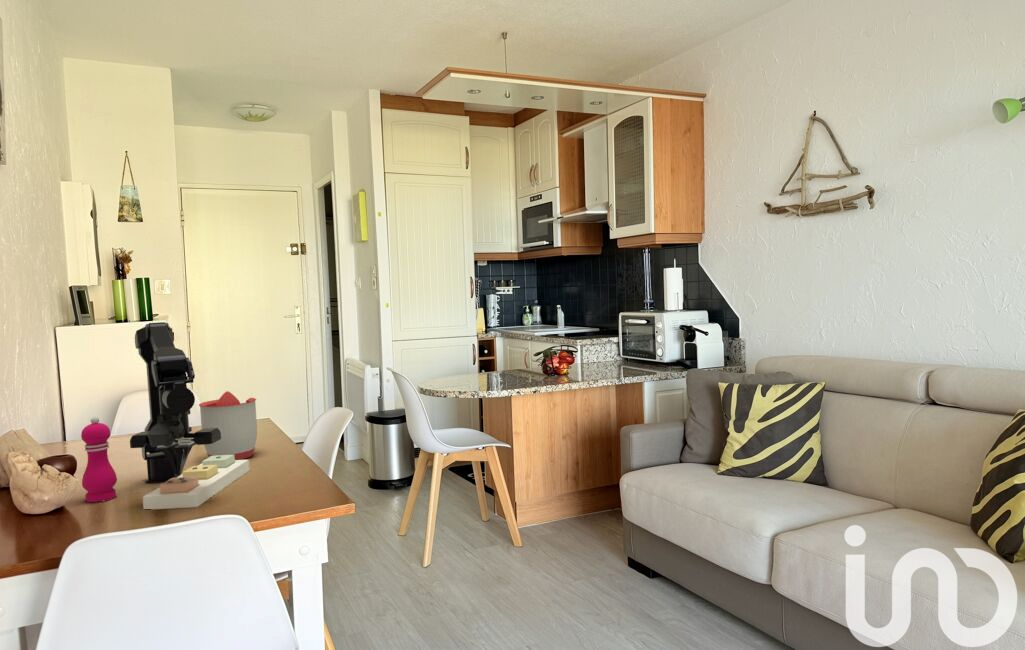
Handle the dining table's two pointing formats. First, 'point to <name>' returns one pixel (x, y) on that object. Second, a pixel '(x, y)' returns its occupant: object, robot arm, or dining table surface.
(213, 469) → the tile
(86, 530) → the dining table surface
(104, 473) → the pepper mill
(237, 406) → the citrus juicer
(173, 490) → the three-pip tile
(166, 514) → the dining table surface
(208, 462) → the tile
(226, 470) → the rail
